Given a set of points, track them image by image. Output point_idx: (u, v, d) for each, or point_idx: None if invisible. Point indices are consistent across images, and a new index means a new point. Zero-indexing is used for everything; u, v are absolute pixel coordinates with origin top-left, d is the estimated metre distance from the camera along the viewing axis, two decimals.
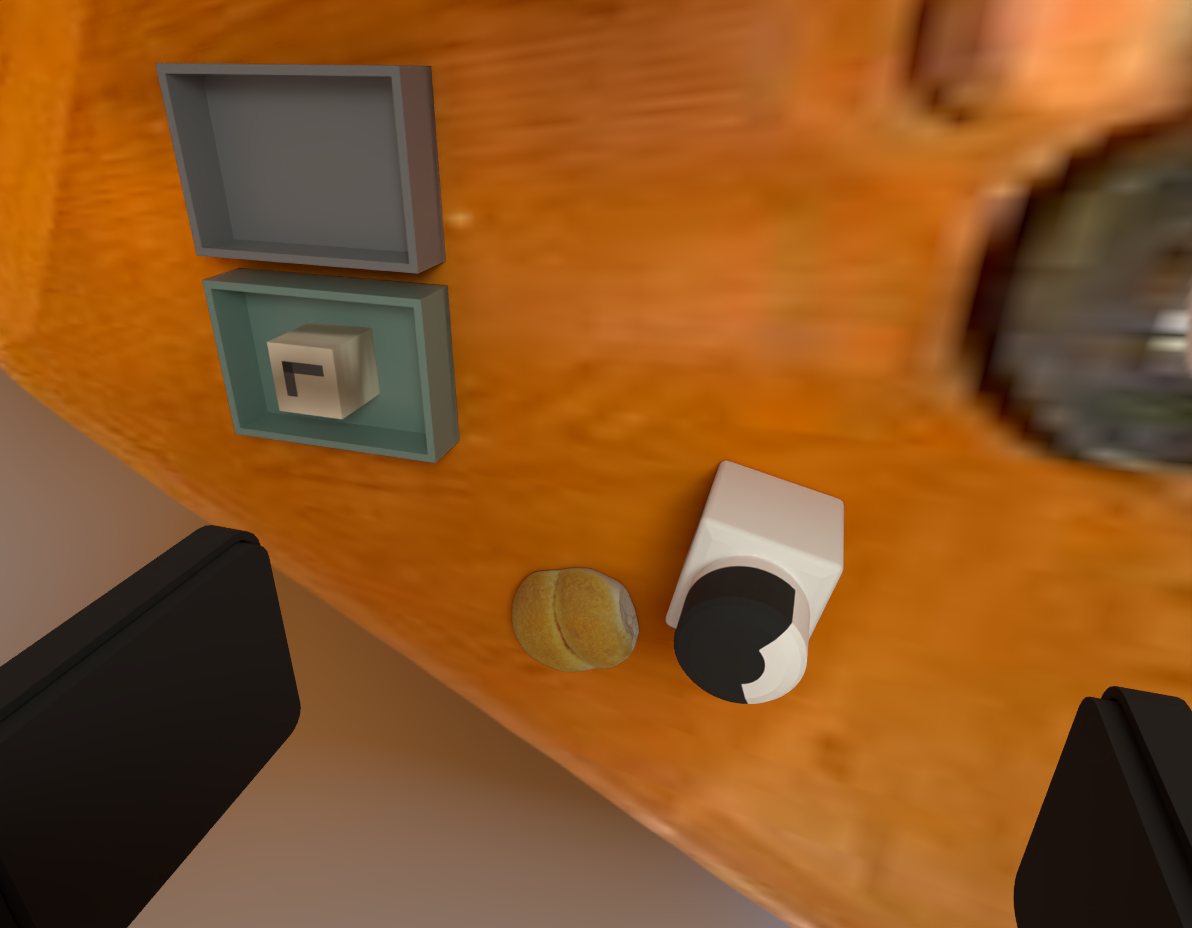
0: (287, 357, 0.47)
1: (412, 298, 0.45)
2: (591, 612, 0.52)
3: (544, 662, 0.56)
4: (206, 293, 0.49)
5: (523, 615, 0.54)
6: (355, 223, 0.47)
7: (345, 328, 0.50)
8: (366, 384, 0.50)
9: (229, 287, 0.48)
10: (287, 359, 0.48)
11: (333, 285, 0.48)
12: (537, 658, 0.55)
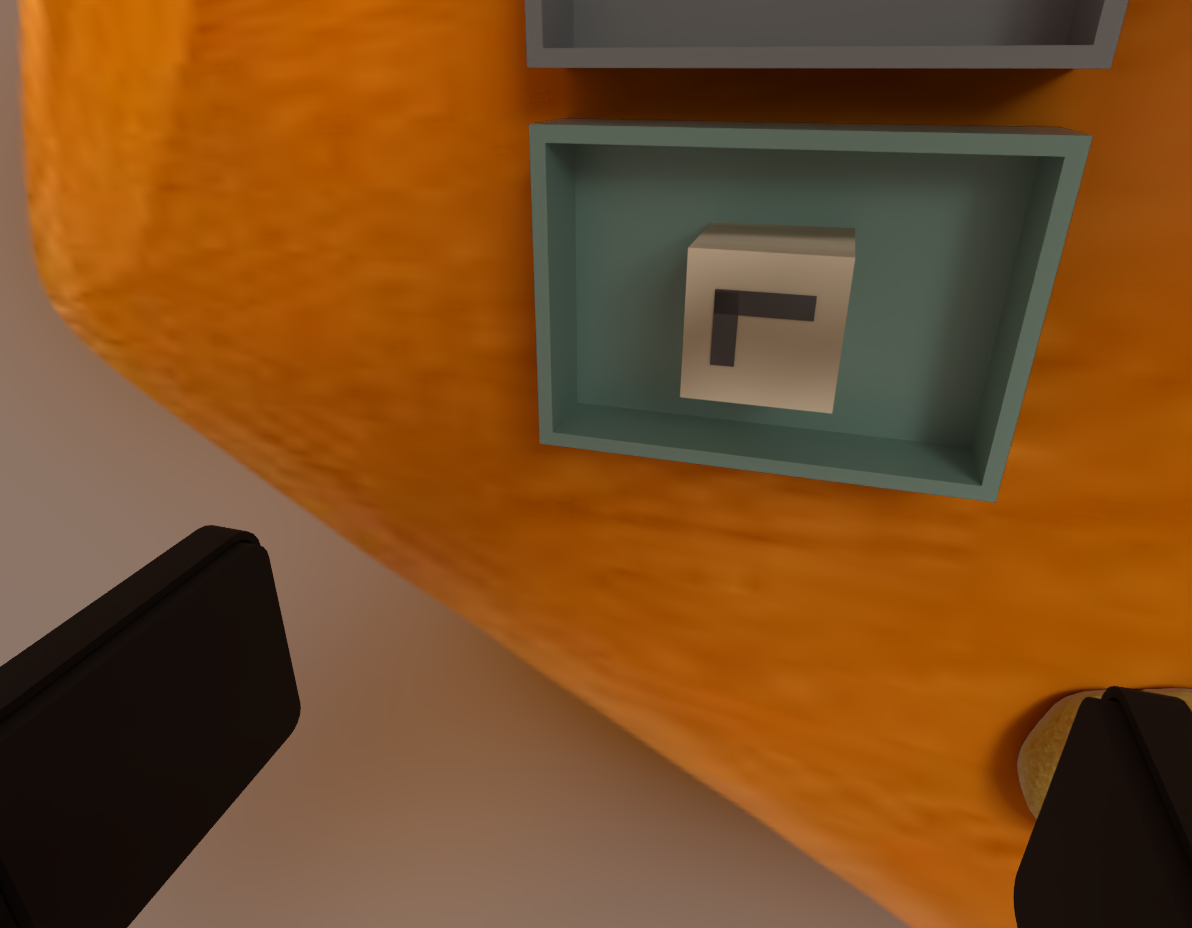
0: (731, 280, 0.22)
1: (1068, 135, 0.20)
2: None
3: None
4: (533, 154, 0.24)
5: None
6: None
7: (805, 229, 0.25)
8: None
9: (590, 137, 0.23)
10: (729, 284, 0.22)
11: (822, 127, 0.22)
12: None
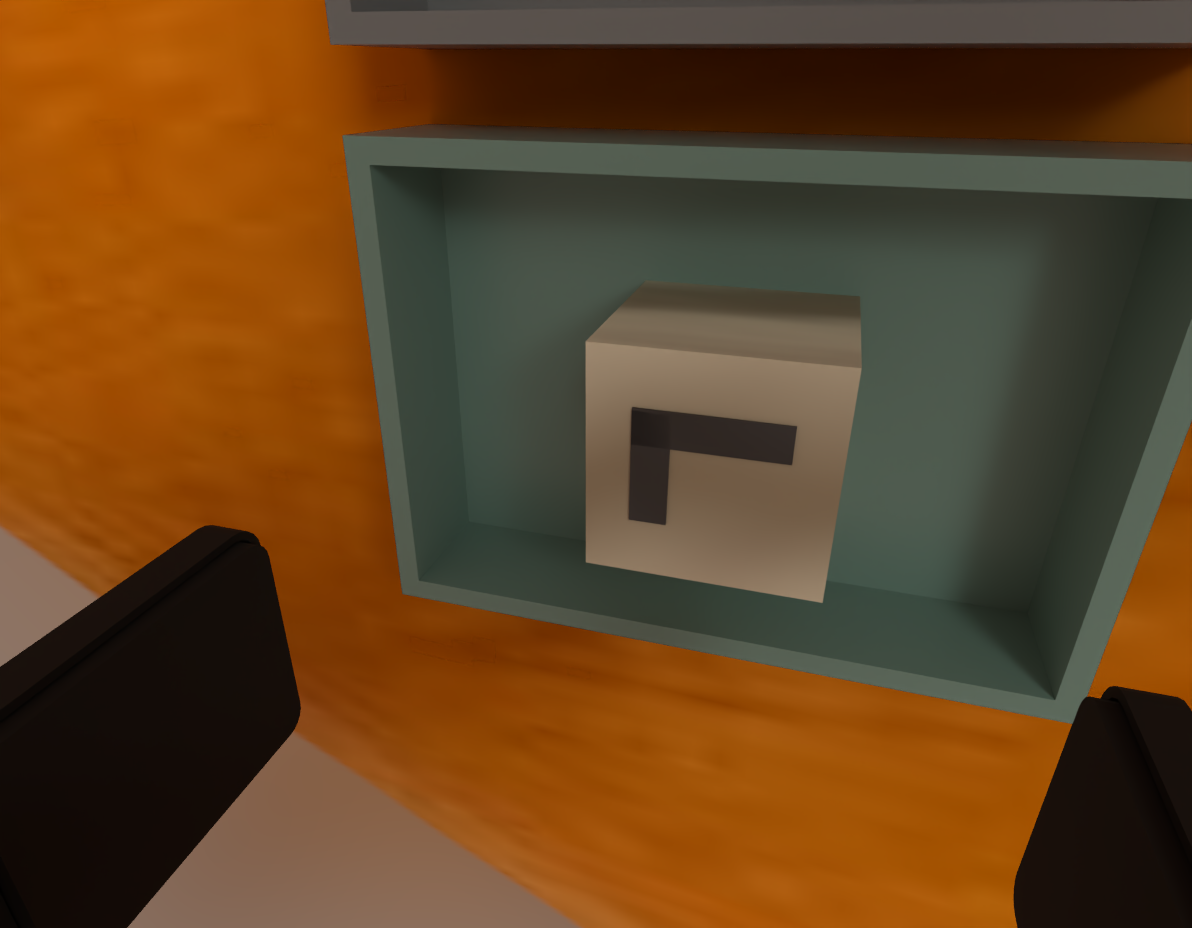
0: (657, 395, 0.13)
1: None
2: None
3: None
4: (353, 182, 0.15)
5: None
6: None
7: (782, 298, 0.16)
8: None
9: (437, 157, 0.14)
10: (654, 401, 0.13)
11: (808, 143, 0.14)
12: None
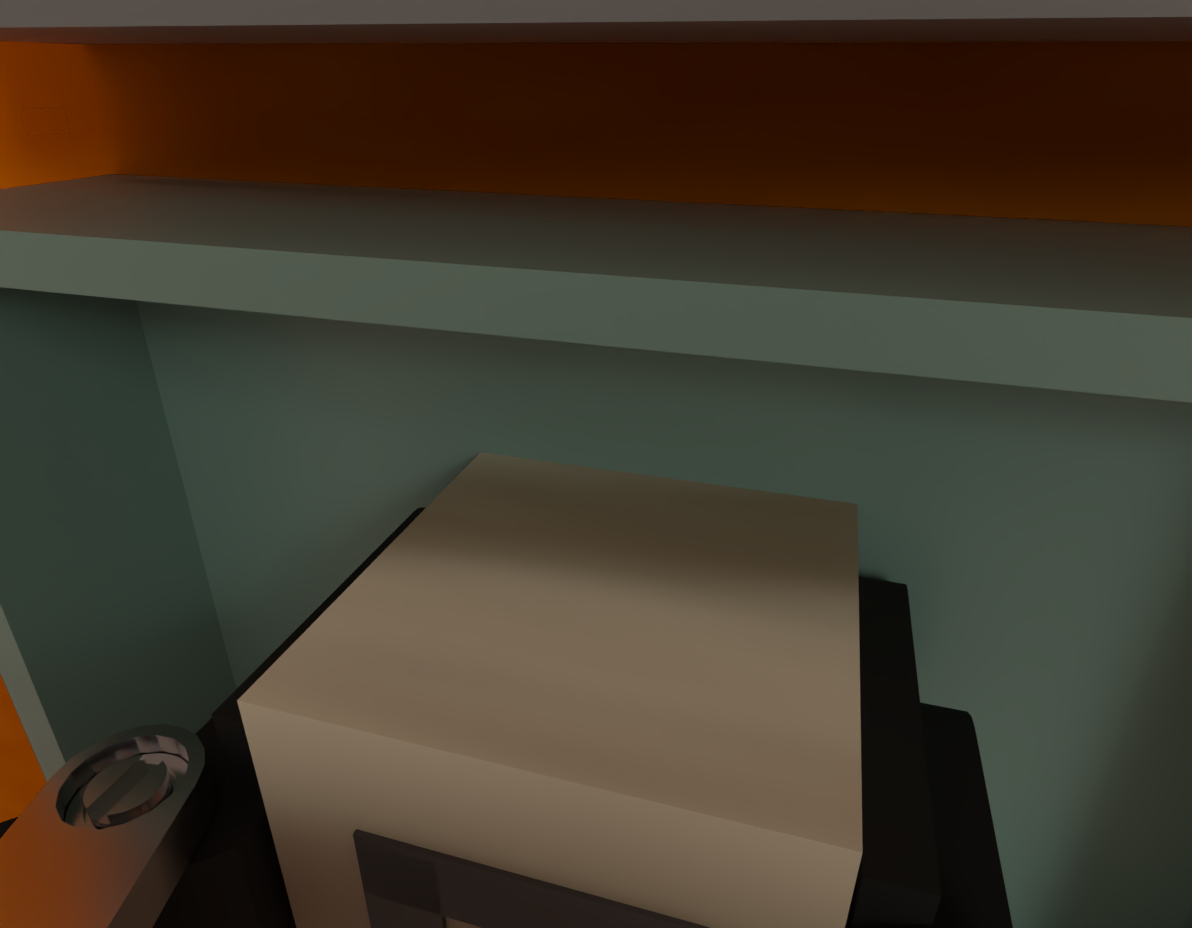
0: (403, 820, 0.06)
1: None
2: None
3: None
4: None
5: None
6: None
7: (712, 512, 0.08)
8: None
9: None
10: (399, 828, 0.06)
11: (740, 245, 0.06)
12: None
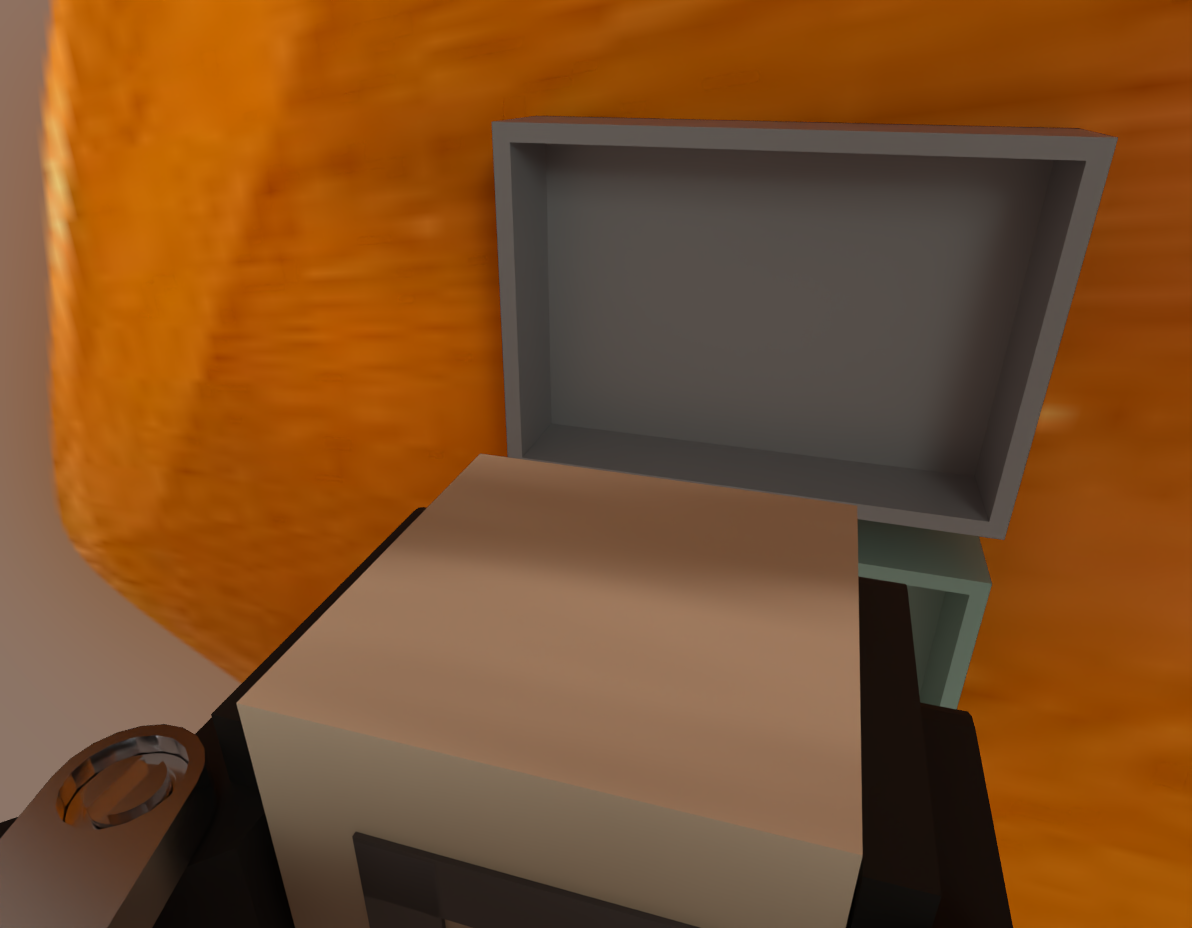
0: (402, 823, 0.06)
1: (972, 580, 0.23)
2: None
3: None
4: None
5: None
6: (816, 414, 0.25)
7: (711, 513, 0.08)
8: None
9: None
10: (397, 832, 0.06)
11: None
12: None
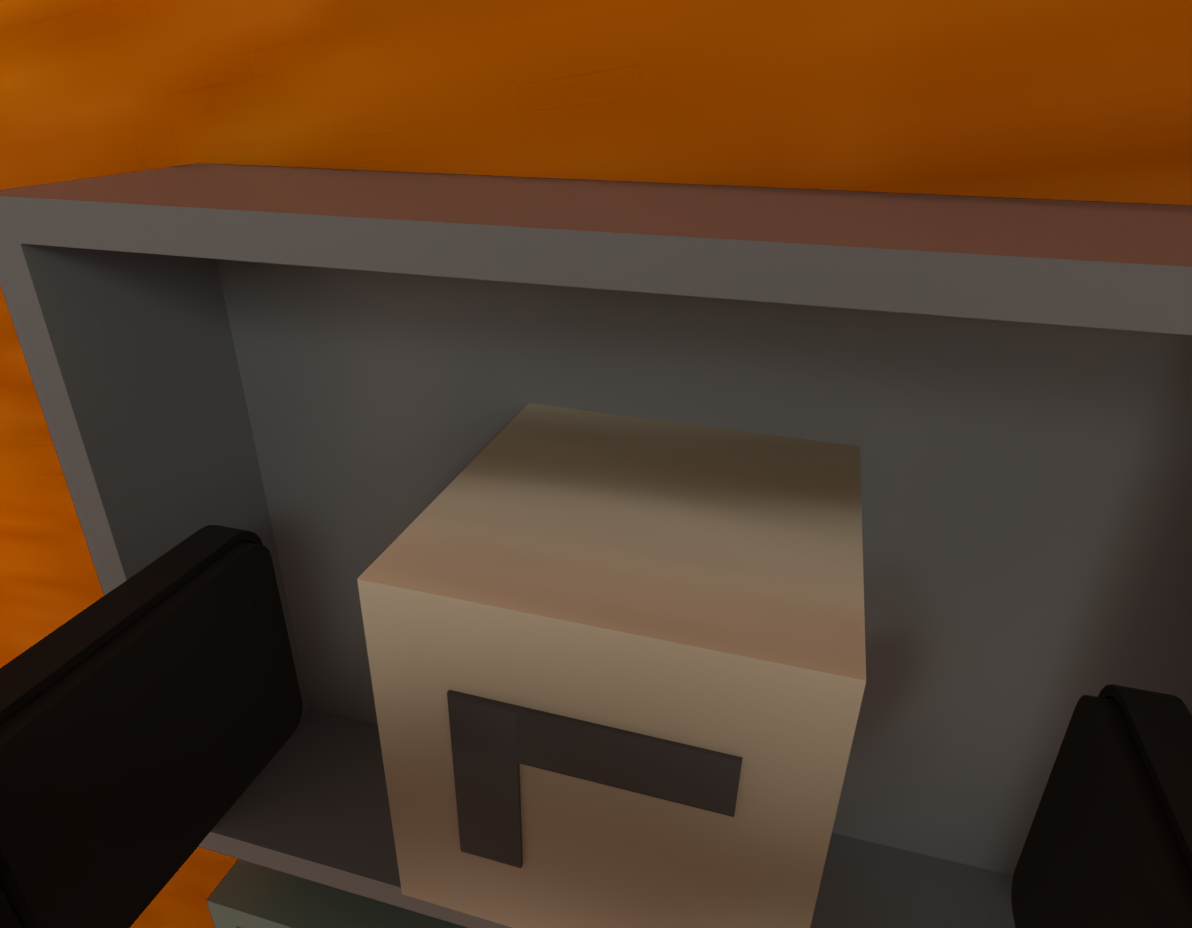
0: (490, 678, 0.07)
1: None
2: None
3: None
4: None
5: None
6: None
7: (735, 451, 0.10)
8: None
9: None
10: (486, 686, 0.07)
11: None
12: None
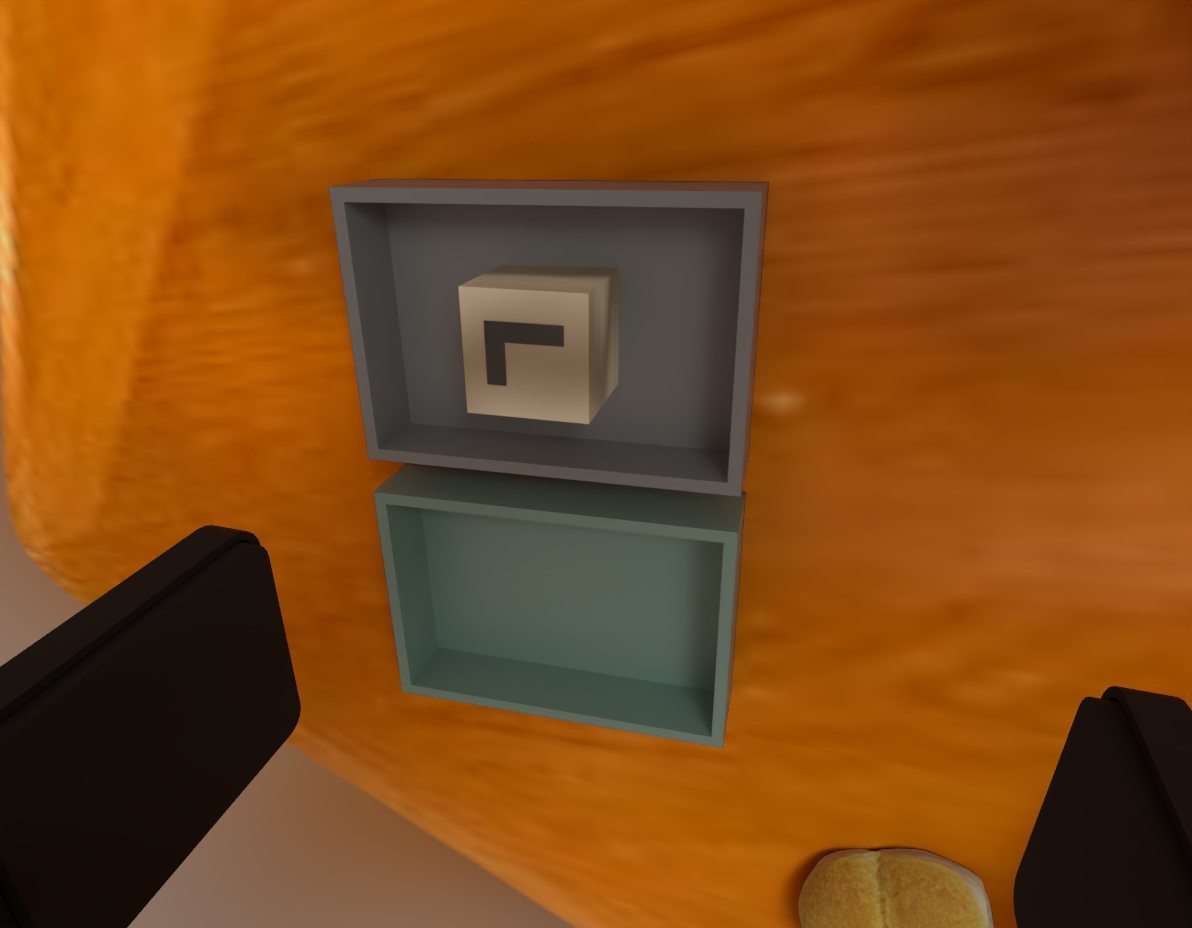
0: (495, 313, 0.26)
1: (723, 530, 0.29)
2: None
3: None
4: (378, 510, 0.33)
5: (834, 927, 0.37)
6: (611, 407, 0.31)
7: (576, 269, 0.29)
8: (609, 365, 0.29)
9: (416, 503, 0.32)
10: (494, 317, 0.26)
11: (577, 498, 0.32)
12: None
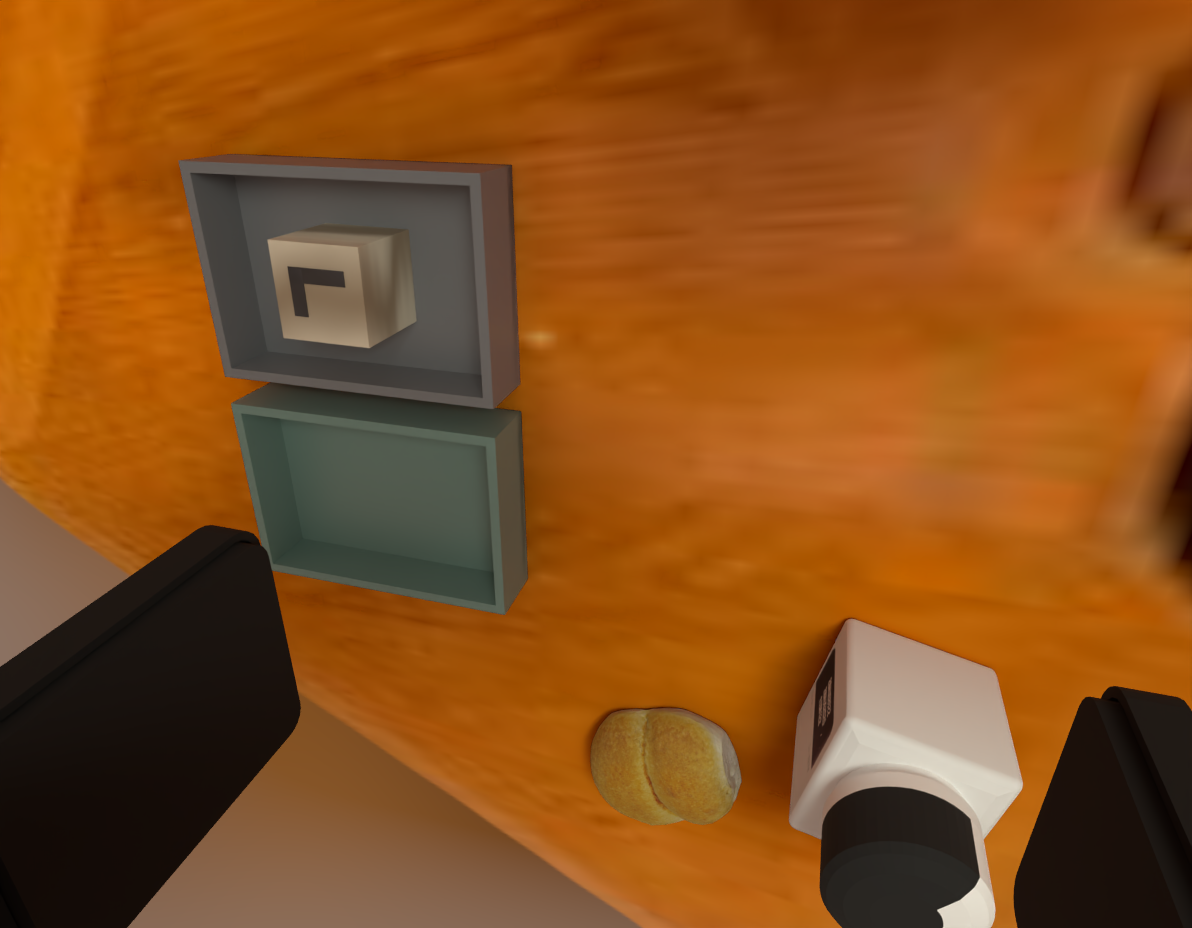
0: (295, 261, 0.35)
1: (485, 436, 0.38)
2: (690, 767, 0.44)
3: (630, 816, 0.47)
4: (235, 418, 0.42)
5: (606, 766, 0.46)
6: (413, 340, 0.40)
7: (373, 229, 0.37)
8: (400, 306, 0.38)
9: (263, 413, 0.41)
10: (294, 263, 0.35)
11: (386, 412, 0.40)
12: (621, 812, 0.47)
